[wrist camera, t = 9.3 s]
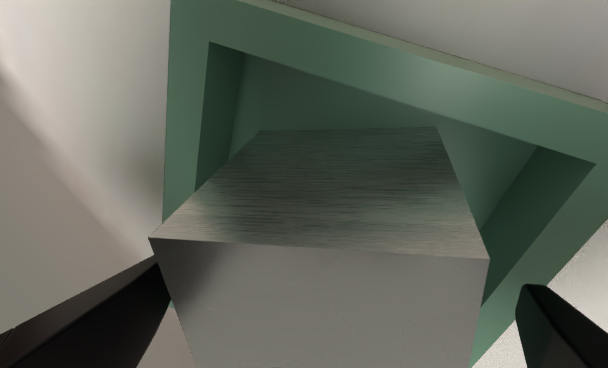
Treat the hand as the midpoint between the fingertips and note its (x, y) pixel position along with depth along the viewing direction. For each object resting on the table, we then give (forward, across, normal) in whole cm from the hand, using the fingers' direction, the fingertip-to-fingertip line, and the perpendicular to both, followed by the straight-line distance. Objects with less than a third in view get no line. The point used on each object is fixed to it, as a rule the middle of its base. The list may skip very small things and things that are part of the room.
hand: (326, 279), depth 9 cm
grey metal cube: (+4, 0, 0) cm, 4 cm away
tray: (+4, 0, 0) cm, 4 cm away
